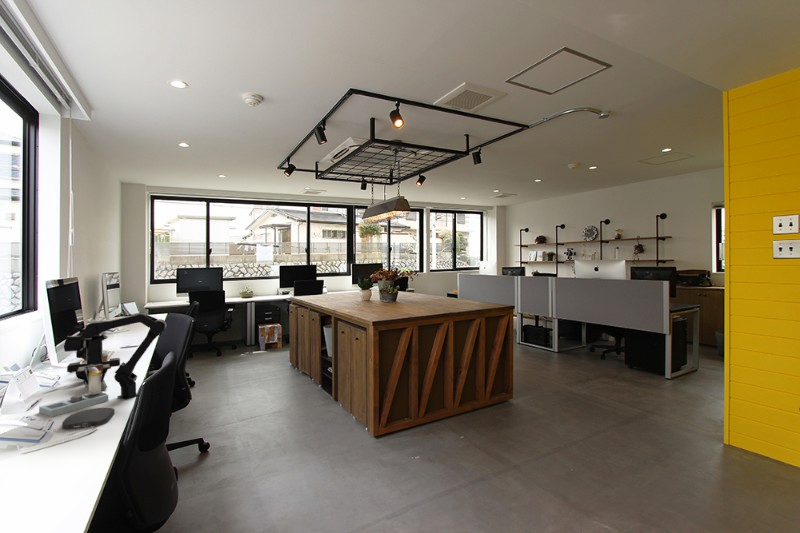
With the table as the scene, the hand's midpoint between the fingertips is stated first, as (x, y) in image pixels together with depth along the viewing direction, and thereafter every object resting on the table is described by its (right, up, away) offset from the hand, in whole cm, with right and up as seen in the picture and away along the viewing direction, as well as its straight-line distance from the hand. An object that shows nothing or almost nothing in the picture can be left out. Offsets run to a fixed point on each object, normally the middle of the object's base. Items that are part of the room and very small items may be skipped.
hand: (94, 383), depth 175 cm
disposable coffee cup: (-31, -7, +42) cm, 53 cm away
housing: (-3, -8, -7) cm, 11 cm away
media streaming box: (+15, -9, -22) cm, 28 cm away
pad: (0, -6, 0) cm, 6 cm away
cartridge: (0, -5, 0) cm, 5 cm away
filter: (-25, -8, +27) cm, 38 cm away
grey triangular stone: (-13, -8, +18) cm, 24 cm away
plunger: (-3, -7, -6) cm, 10 cm away
